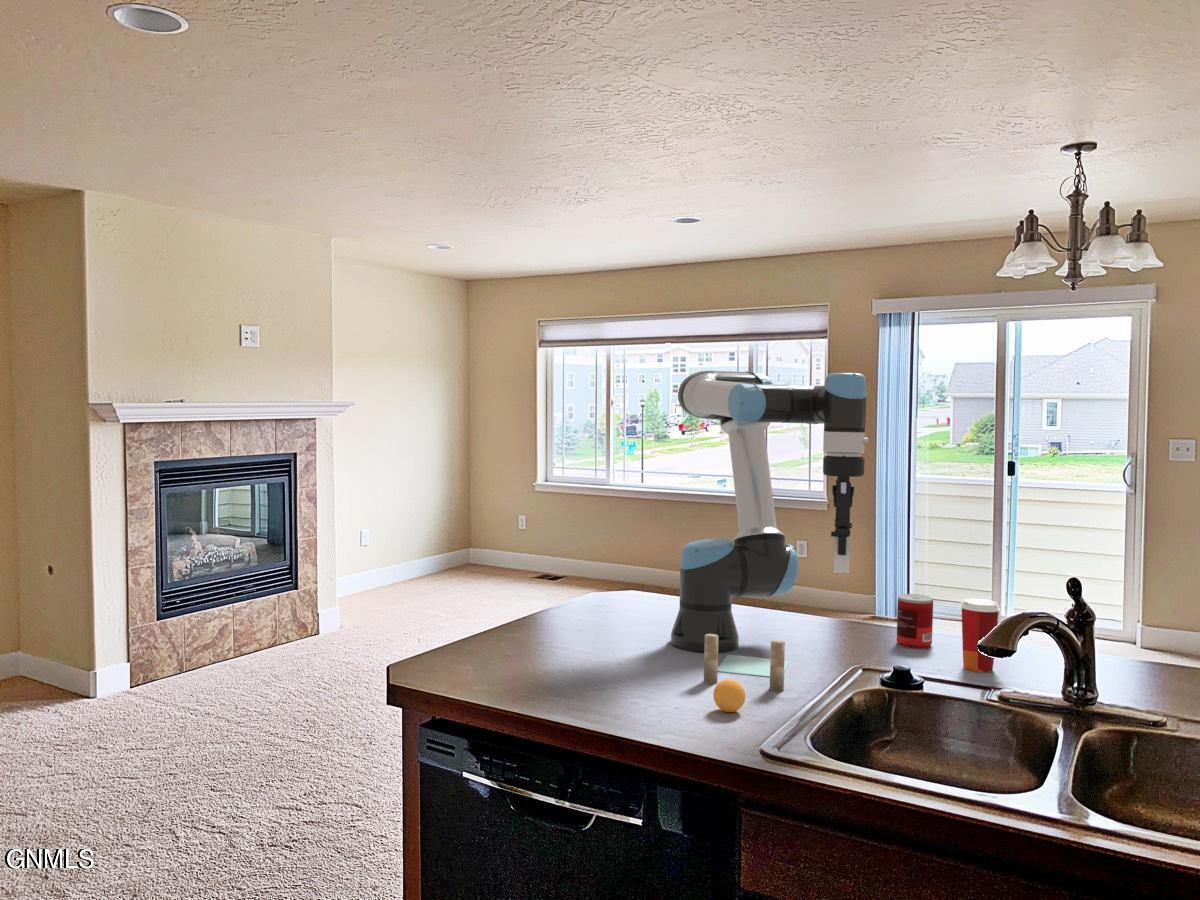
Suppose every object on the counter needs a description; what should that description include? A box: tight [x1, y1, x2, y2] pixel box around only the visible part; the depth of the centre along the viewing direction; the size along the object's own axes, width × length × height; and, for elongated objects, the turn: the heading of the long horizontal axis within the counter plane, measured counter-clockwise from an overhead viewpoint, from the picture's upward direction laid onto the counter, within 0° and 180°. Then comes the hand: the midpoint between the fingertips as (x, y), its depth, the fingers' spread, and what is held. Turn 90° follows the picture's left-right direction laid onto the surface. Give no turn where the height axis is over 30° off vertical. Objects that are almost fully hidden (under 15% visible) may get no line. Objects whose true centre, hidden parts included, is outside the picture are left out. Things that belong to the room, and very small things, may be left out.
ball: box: [712, 678, 746, 713], centre depth 153 cm, size 6×6×6 cm
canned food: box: [896, 593, 934, 650], centre depth 202 cm, size 8×8×11 cm
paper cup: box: [958, 598, 1001, 673], centre depth 183 cm, size 8×8×14 cm
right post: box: [769, 639, 786, 692], centre depth 167 cm, size 3×3×9 cm
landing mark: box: [717, 654, 790, 678], centre depth 182 cm, size 13×13×1 cm
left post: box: [703, 634, 719, 685], centre depth 170 cm, size 3×3×9 cm
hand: (841, 567), depth 168 cm, fingers open, 13 cm apart
